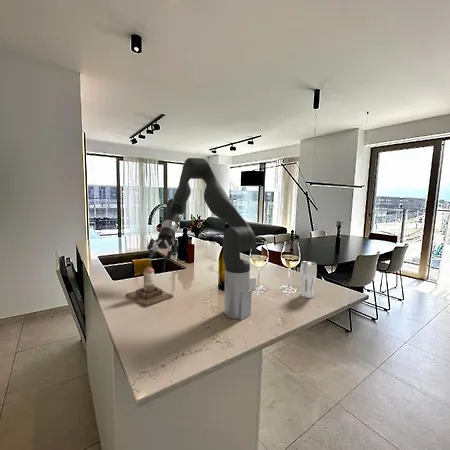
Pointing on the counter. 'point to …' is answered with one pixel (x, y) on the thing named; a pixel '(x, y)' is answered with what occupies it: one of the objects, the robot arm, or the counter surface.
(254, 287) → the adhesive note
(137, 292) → the cradle
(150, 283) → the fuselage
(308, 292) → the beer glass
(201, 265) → the counter surface
